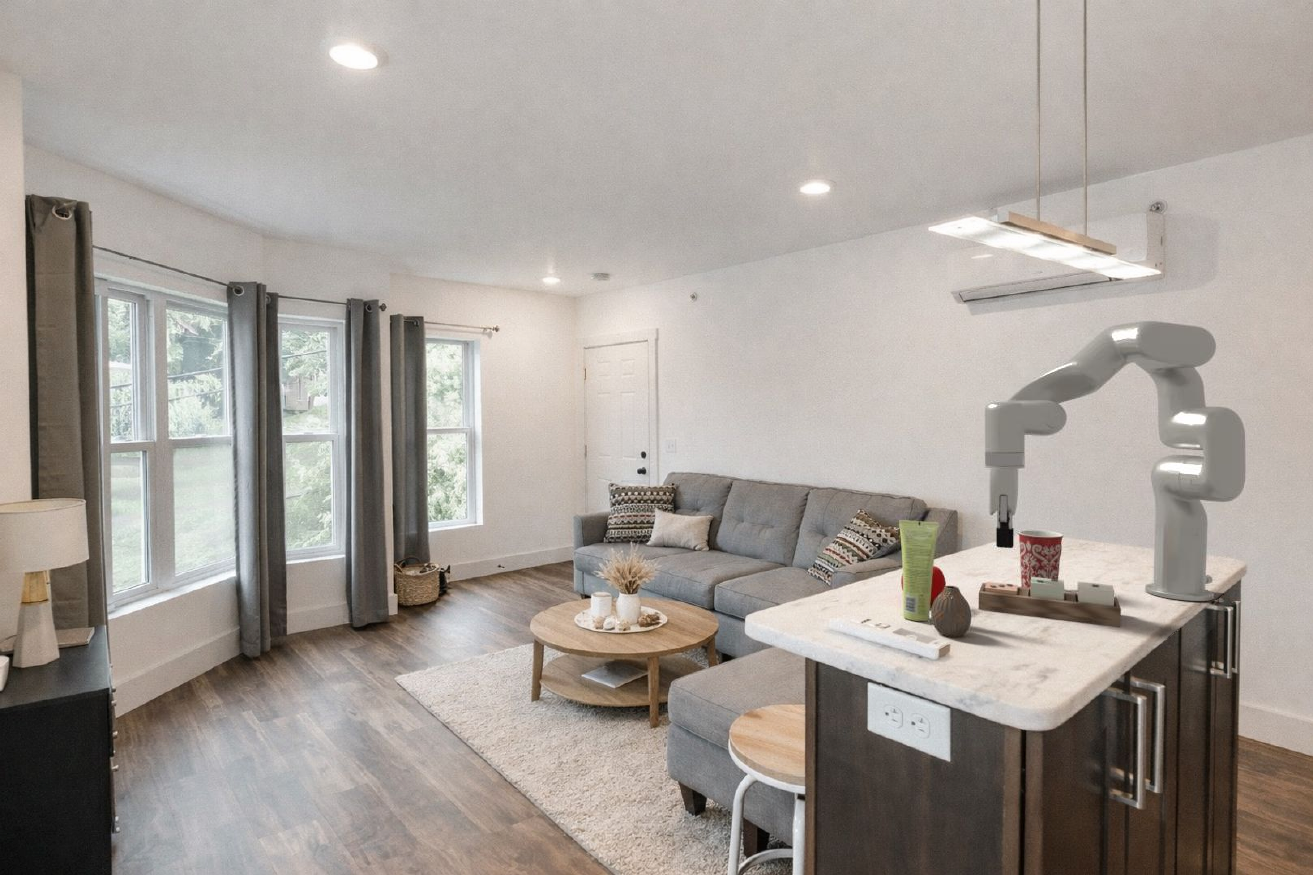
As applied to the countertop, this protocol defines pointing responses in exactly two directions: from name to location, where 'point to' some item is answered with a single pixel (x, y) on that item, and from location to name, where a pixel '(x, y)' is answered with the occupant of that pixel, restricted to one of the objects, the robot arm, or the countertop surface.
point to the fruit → (935, 583)
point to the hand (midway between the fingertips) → (1005, 546)
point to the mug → (1039, 555)
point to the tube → (917, 567)
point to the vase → (951, 613)
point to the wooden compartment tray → (1050, 607)
